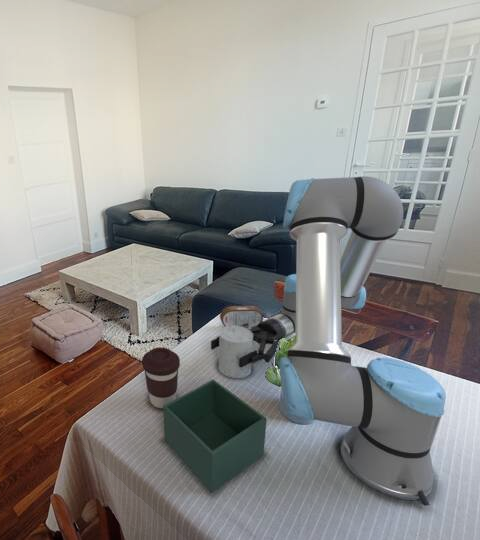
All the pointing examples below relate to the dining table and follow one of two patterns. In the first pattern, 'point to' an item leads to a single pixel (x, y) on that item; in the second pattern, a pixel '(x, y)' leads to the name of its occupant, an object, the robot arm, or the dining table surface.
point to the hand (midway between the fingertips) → (225, 353)
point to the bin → (214, 433)
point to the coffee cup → (161, 375)
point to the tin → (241, 316)
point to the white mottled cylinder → (234, 350)
